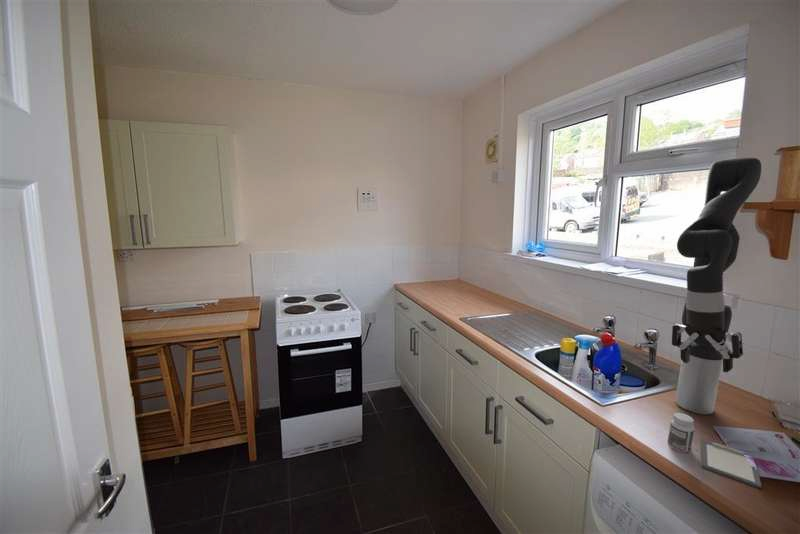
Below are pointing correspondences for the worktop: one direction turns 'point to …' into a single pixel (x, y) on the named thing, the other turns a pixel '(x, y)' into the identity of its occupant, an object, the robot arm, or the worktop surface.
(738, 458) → the tray
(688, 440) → the pill bottle
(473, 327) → the worktop surface
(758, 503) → the worktop surface
